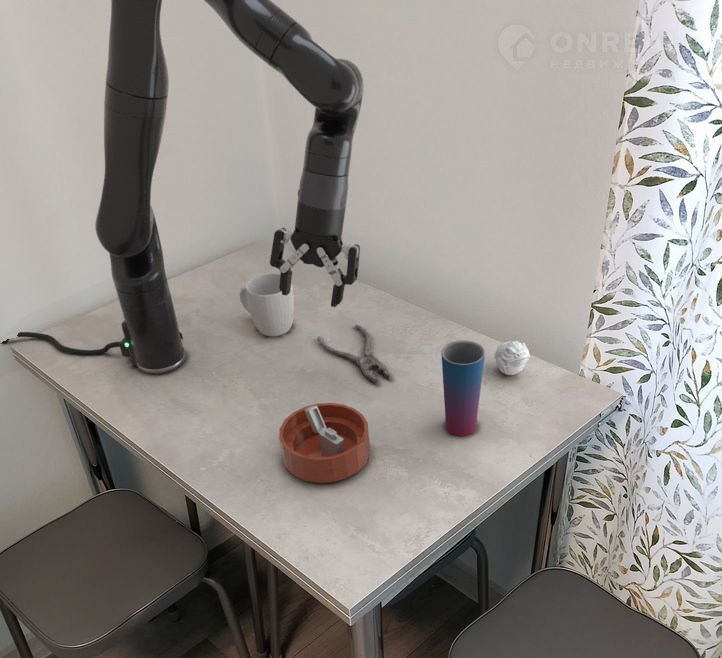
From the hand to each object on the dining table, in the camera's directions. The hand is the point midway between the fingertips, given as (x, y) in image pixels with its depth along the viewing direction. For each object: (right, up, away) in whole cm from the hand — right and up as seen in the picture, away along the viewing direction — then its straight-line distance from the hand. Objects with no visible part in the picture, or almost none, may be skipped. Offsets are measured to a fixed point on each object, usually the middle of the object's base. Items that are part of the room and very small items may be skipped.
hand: (309, 299), depth 134 cm
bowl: (+3, -26, -1) cm, 26 cm away
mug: (-10, 0, +31) cm, 32 cm away
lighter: (+3, -25, -1) cm, 26 cm away
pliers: (+9, -6, +21) cm, 24 cm away
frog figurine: (+36, -11, +14) cm, 40 cm away
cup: (+25, -21, +3) cm, 33 cm away
